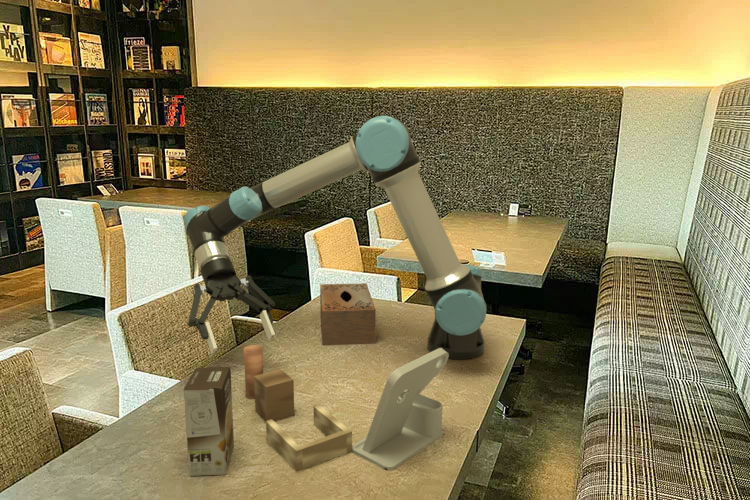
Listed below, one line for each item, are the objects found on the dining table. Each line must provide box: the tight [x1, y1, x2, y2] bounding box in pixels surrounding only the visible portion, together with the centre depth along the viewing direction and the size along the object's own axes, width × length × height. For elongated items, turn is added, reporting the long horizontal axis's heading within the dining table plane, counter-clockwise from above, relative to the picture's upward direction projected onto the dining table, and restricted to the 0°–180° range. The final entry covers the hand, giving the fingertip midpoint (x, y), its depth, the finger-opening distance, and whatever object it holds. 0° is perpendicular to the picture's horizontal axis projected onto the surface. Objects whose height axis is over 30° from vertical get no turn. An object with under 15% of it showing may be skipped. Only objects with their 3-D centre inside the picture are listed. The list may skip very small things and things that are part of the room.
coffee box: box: [183, 366, 235, 477], centre depth 100 cm, size 9×6×16 cm
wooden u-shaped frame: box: [265, 404, 353, 473], centre depth 107 cm, size 12×11×4 cm
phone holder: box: [351, 348, 449, 471], centre depth 107 cm, size 17×10×18 cm, turn 138°
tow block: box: [243, 344, 295, 423], centre depth 121 cm, size 15×6×11 cm, turn 35°
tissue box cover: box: [319, 282, 377, 346], centre depth 167 cm, size 26×14×10 cm, turn 6°
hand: (244, 344), depth 127 cm, fingers open, 13 cm apart
